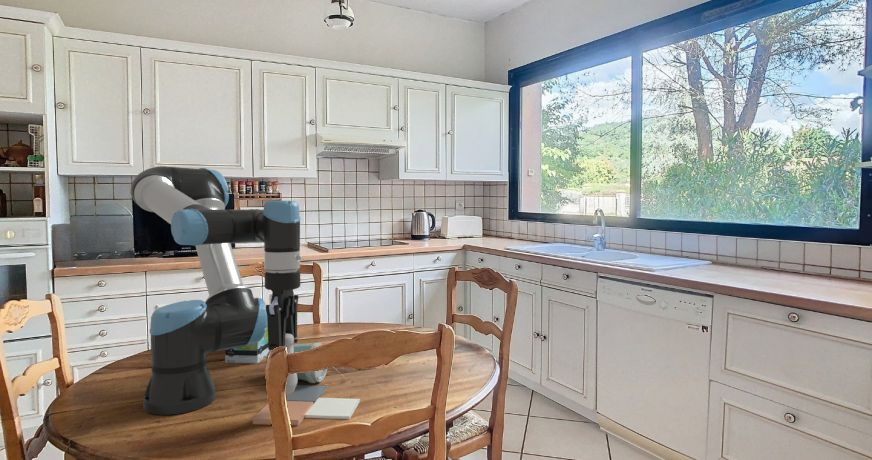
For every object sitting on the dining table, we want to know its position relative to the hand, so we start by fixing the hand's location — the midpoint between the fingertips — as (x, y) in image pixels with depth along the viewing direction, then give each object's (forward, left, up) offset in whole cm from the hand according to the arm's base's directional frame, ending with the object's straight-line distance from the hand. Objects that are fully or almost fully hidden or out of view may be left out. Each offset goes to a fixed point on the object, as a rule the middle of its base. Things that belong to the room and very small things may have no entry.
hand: (283, 375), depth 110 cm
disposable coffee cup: (-12, +24, -4) cm, 27 cm away
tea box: (-25, +39, -9) cm, 47 cm away
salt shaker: (0, 0, -4) cm, 4 cm away
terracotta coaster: (0, 0, -9) cm, 9 cm away
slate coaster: (0, +12, -10) cm, 15 cm away
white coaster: (+10, +4, -10) cm, 14 cm away
